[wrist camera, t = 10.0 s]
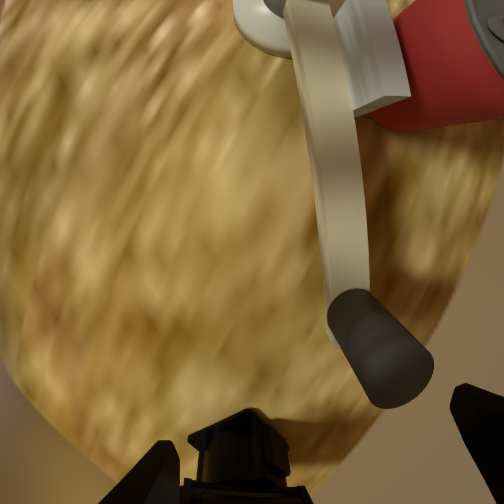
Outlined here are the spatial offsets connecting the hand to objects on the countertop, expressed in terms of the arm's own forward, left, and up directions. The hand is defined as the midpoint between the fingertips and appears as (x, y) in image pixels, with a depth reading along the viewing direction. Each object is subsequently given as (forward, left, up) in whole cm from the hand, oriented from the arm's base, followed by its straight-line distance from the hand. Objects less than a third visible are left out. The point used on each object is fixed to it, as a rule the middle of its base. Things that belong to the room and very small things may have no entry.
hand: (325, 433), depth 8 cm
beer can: (+14, +7, -13) cm, 20 cm away
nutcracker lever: (+7, +6, -11) cm, 14 cm away
